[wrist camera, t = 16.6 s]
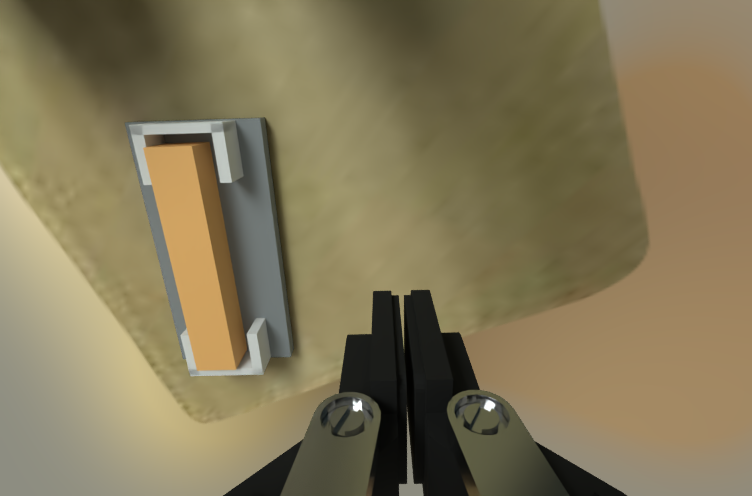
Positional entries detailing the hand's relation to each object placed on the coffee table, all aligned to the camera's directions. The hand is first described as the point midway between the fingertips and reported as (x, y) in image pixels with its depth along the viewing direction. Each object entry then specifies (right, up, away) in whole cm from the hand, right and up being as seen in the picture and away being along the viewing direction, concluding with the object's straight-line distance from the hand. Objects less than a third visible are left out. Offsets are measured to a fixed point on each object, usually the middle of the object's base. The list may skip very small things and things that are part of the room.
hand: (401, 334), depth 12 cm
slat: (-17, +2, +27) cm, 32 cm away
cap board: (-17, +3, +28) cm, 33 cm away
